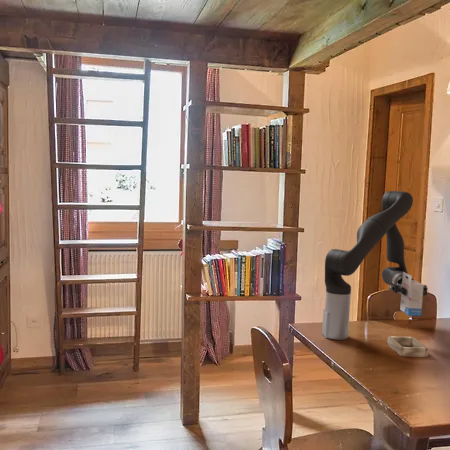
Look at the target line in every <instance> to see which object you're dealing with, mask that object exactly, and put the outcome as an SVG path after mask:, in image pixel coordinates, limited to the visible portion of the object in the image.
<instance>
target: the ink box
mask: <svg viewBox="0 0 450 450" xmlns="http://www.w3.org/2000/svg"><path fill="white" fill-rule="evenodd" d="M406 276H407V277H408V279H407V278H406ZM412 278H413V276H412V275H411V274H409V273H408V274H407V273H405V272H403V280H402V286H403V288H405V289H406V296H405V295H403V294H400V308H399V309H400V311H401V312H403V313H404V314H406V315H407V316H408V317H421V316H422V309H423V300H424V299H423V298H424V297H423V287H424V285H425V284H423V283H421V282H419V281H417V280H415V279H414V280H412Z"/></svg>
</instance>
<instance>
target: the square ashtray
mask: <svg viewBox="0 0 450 450" xmlns="http://www.w3.org/2000/svg"><path fill="white" fill-rule="evenodd" d="M386 343H387V346H388V347H390V348H391V349H392V350H393V351H394V352H395V353H396V352H397V353H396V354H398V355H399V356H400V357H413V358H419V357H420V358H423V357H424V358H429V357H428V356H429V347H427V346H426V345H425V344H423V343H422V342H421V341H420V340H418V339H417V338H415V337H414V336H392V335H388V336H387V342H386ZM406 345H407V346H406Z"/></svg>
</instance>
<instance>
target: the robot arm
mask: <svg viewBox="0 0 450 450" xmlns="http://www.w3.org/2000/svg"><path fill="white" fill-rule="evenodd" d="M413 203H414V198H413V195H412V194H411V193H409V192H407V191H401V190H400V191H399V190H397V191H396V190H387V191H385V192H384V193H383V195H382V198H381V208H382V209H381V210H382V211H379V212H378V213H376V214H373V215H372V216H369V217H367V219H365V221H364V222H363V223H362V224H361V225H360V226H359V227H358V229H357V230H356V244H355V245H354V246H353V247H352V248H351V249H350V250H343V249H337V248H333V249H331V250H329V251H328V252H327V254H326V256H325V260H324V284H325V285H324V286H325V299H324V301H325V302H324V309H323V310H322V311H323V312H322V324H321V334H322V336H323V337H324V338H325V339H329V340H330V339H331V340H336V341H337V340H338V341H339V340H341V341H342V340H347V339H348V338H349V326H350V324H349V323H350V311H351V298H352V297H351V295H352V286H351V285H350V284H349V283H348V282H347V281H346V280H345V279H344V278H343V276H345V277H347V276H351V275H354V273H355V272H356V271H357V269H358V268H359V267H360V265H362V263H363V261H364V260H365V258H366V257H367V256H368V254H369V253H370V252H371V251H372V249H374V247H375V246H376V245H377V244H378V243H379V242H380V241H381V239H383V238H384V236H386V260H387V261H388V262H390V263H394V264H397V265H398V266H394V267H393V266H392V267H391V266H387V267H385V268H383V270H382V272H381V278H382V281H383V282H384V283H385V284H386V285H388V286H389V288H388V289H389V290H390V291H392V292H393V293H395V294H398V293H399V294H400V295H401V294H403V295H405V296H406V289H405V288H403V286H402V280H403V272H405V273H407V274H409V272H408V269H407V266H406V262H405V242H404V238H403V235H402V234H401V232H400V230H399V228H398V225H397V223H398V221H400V220H401V219H402V218H404V216H405V215H407V214H408V212H410V210H411V209H412V206H413ZM406 278H407V279H408V277H407V276H406ZM412 280H415V279H414V278H413V277H412ZM423 285H424V287H423V298H424V296H427V295H428V286H427V285H426V284H423Z"/></svg>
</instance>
